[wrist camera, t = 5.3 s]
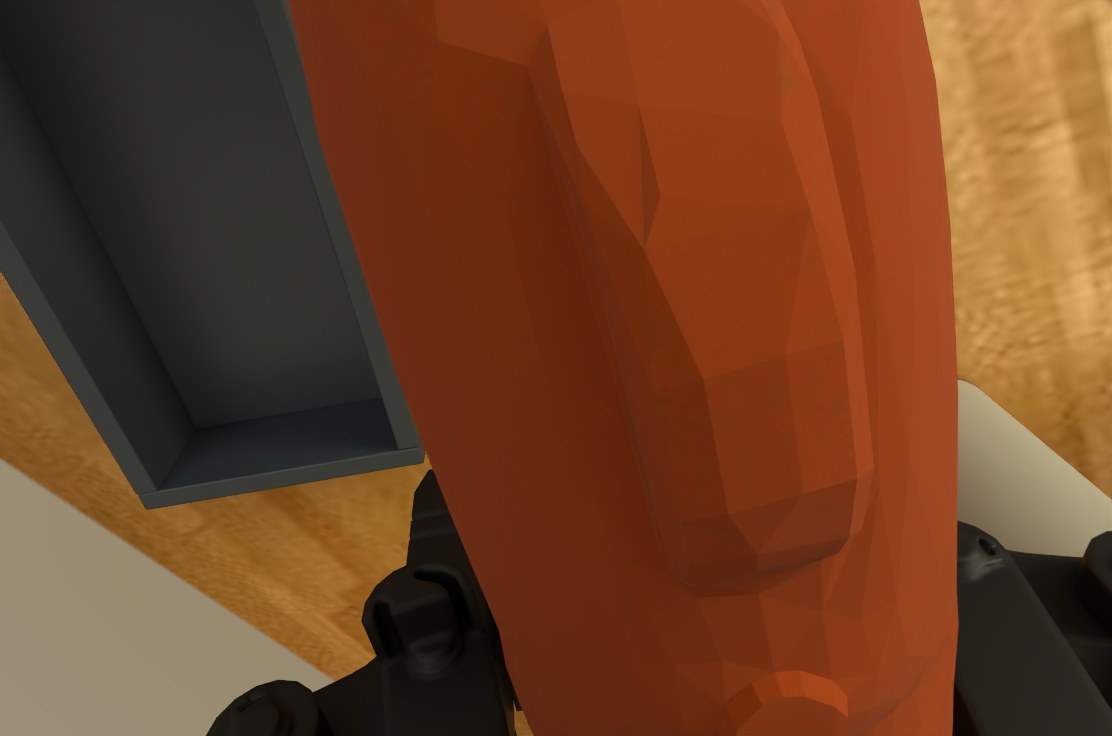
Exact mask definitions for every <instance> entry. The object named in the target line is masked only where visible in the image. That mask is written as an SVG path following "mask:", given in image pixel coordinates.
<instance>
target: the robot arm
mask: <svg viewBox="0 0 1112 736" xmlns="http://www.w3.org/2000/svg"><path fill="white" fill-rule="evenodd" d="M957 603H958V621H959V627H958V639H957V651H956V664H955V676H954V691H953V731H952V736H1112V531H1106V532H1104V533H1102V534H1100V535H1098V536H1096V537H1094V538H1092V539H1091V540H1090V542H1089V544H1088V546H1087V548H1086V550H1085V553H1084V555H1083V557H1071V556H1059V555H1047V554H1035V553H1024V552H1018V551H1011V550H1006V549H1005V548H1004V547H1003V546H1002V545H1001V544H1000V543H999V542H998V540H997V539H996V538H994V537H993V536H991V535H989V534H988V533H986V532H984V531H983V530H981V529H979V528H978V527H976V526H974V525H971V524H967V523H964V522H961V521H958V520H957ZM362 624H363V626H364V628H365V630H366V633H367V635H368V637H369V639H370V642H371V644H372V646H373V649H374V651H375V653H376V655H377V656H376V657H375V658H374V659H373V660H372V661H371V662H369V663H368V664H367V665H366V666H364V667H362V668H361V669H359V670H357V671H355V672H354V673H352V674H350V675H348V676H346V677H344V678H342V679H340V680H338V681H336V682H334V683H332V684H330V685H328V686H326V687H323V688H321V689H319V690H317V691H315V692H313V693H312V691H311V690H310V689H308V688H307V687H305V686H304V685H302V684H301V683H299V682H297V681H286V680H276V681H272V682H269V683H265V684H262V685H258V686H256V687H254V688H253V689H251V690H249V691H248V692H246V693H244V694H243V695H241V696H239V697H238V698H236V699H235V700H234V701H233V702H232V703H231V704H230V705H229V706H228V707H227V708H226V709H225V710H224V711H223V712H222V713H221V714H220V715H219V716H218V717H217V718H216V720H215V721H214V723H213V725H212V727H211V728H210V730H209V731H208V733H207V735H206V736H517V734H516V731H515V724H514V705H513V700H514V703H515V707H516V710H517V711H522V708H521V705H520V703H519V700H518V697H517V695H516V692H515V689H514V687H513V684H512V681H511V679H510V676H509V673H508V671H507V668H506V664H505V659H504V654H503V648H502V643H501V638H500V633H499V629H498V627H497V625H496V622H495V620H494V618H493V615H492V613H491V610H490V608H489V606H488V603H487V601H486V598H485V596H484V594H483V591H482V589H481V587H480V584H479V582H478V579H477V577H476V575H475V572H474V570H473V567H472V565H471V563H470V560H469V558H468V555H467V553H466V551H465V548H464V546H463V544H462V541H461V539H460V536H459V534H458V532H457V529H456V527H455V524H454V522H453V519H452V517H451V514H450V512H449V509H448V507H447V504H446V501H445V499H444V496H443V494H442V491H441V489H440V486H439V483H438V481H437V478H436V476H435V473H434V471H433V469H431V470H428V472H427V474H426V475H425V477H424V478H423V480H422V481H421V483H420V485H419V486H418V488H417V489H416V491H415V492H414V501H413V510H412V521H411V528H410V541H409V546H408V554H407V563H406V566H404V567H402V568H400V569H398V570H395V571H393V572H392V573H391V574H390V575H388V576H387V577H386V578H385V579H384V580H382V581H381V582H380V583H379V584H378V585H376V587H375V588H374V590H373V591H372V593H371V594H370V596H369V598H368V599H367V601H366V602H365V605H364V610H363V615H362Z"/></svg>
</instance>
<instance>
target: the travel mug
mask: <svg viewBox="0 0 1112 736" xmlns="http://www.w3.org/2000/svg"><path fill="white" fill-rule="evenodd" d="M957 520H958V521H961V522H964V523H967V524H971V525H974V526H976V527H978V528H979V529H981V530H983V531H984V532H986V533H988V534H989V535H991V536H993V537H994V538H996V539H997V540H998V542H999V543H1000V544H1001V545H1002V546H1003V547H1004V548H1005V549H1006V550H1011V551H1018V552H1024V553H1035V554H1047V555H1059V556H1071V557H1083V555H1084V553H1085V550H1086V548H1087V546H1088V544H1089V542H1090V540H1091V539H1092V538H1094V537H1096V536H1098V535H1100V534H1102V533H1104V532H1106V531H1112V500H1111V499H1110V498H1109V497H1107V496H1106V495H1105V494H1104V493H1103V492H1102V491H1100V490H1099V489H1098V488H1097V487H1096V486H1094V485H1093V484H1092V483H1091V482H1090V481H1088V480H1087V479H1086V478H1085V477H1084V476H1082V475H1081V474H1080V473H1079V472H1078V471H1076V470H1075V469H1074V468H1073V467H1072V466H1070V465H1069V464H1068V463H1067V462H1066V461H1065V460H1063V459H1062V458H1061V457H1060V456H1059V455H1057V454H1056V453H1055V452H1054V451H1053V450H1051V449H1050V448H1049V447H1048V446H1047V445H1045V444H1044V443H1043V442H1042V441H1041V440H1039V439H1038V438H1037V437H1036V436H1035V435H1033V434H1032V433H1031V432H1030V431H1029V430H1028V429H1026V428H1025V427H1024V426H1023V425H1022V424H1020V423H1019V422H1018V421H1017V420H1016V419H1014V418H1013V417H1012V416H1011V415H1010V414H1008V413H1007V412H1006V411H1005V410H1004V409H1002V408H1001V407H1000V406H999V405H998V404H996V403H995V402H994V401H993V400H992V399H991V398H989V397H988V396H987V395H986V394H985V393H983V392H982V391H981V390H980V389H978V388H977V387H975V386H974V385H972V384H970V383H967V382H964V381H961V380H958V487H957Z"/></svg>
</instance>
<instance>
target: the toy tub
mask: <svg viewBox="0 0 1112 736" xmlns="http://www.w3.org/2000/svg"><path fill="white" fill-rule="evenodd" d="M0 270H1V272H2V274H3V275H4V277H5V279H6V280H7V282H8V284H9V285H10V287H11V288H12V290H13V292H14V293H15V295H16V297H17V298H18V300H19V302H20V303H21V305H22V307H23V308H24V310H25V312H26V313H27V315H28V316H29V318H30V320H31V321H32V323H33V325H34V326H35V328H36V330H37V331H38V333H39V335H40V336H41V338H42V340H43V341H44V343H45V344H46V346H47V348H48V349H49V351H50V353H51V354H52V356H53V358H54V359H55V361H56V363H57V364H58V366H59V368H60V369H61V371H62V372H63V374H64V376H65V377H66V379H67V381H68V382H69V384H70V386H71V387H72V389H73V391H74V392H75V394H76V396H77V397H78V399H79V400H80V402H81V404H82V405H83V407H84V409H85V410H86V412H87V414H88V415H89V417H90V419H91V420H92V422H93V424H94V425H95V427H96V428H97V430H98V432H99V433H100V435H101V437H102V438H103V440H104V442H105V443H106V445H107V447H108V448H109V450H110V452H111V453H112V455H113V457H114V458H115V460H116V461H117V463H118V465H119V466H120V468H121V470H122V471H123V473H124V475H125V476H126V478H127V480H128V481H129V483H130V485H131V486H132V488H133V489H134V491H135V493H136V494H138V496H139V498H140V500H141V501H142V503H143V505H144V506H145V508H146V509H148V510H149V509H155V508H161V507H167V506H173V505H179V504H185V503H190V502H196V501H202V500H208V499H214V498H220V497H226V496H232V495H238V494H244V493H250V492H255V491H261V490H267V489H273V488H279V487H285V486H291V485H297V484H303V483H309V482H315V481H320V480H326V479H332V478H338V477H344V476H350V475H356V474H362V473H368V472H374V471H380V470H385V469H391V468H397V467H403V466H409V465H415V464H421V463H423V462H424V456H425V447H424V445H423V442H422V440H421V437H420V435H419V432H418V429H417V427H416V424H415V422H414V419H413V417H412V414H411V411H410V409H409V406H408V404H407V401H406V399H405V396H404V393H403V391H402V388H401V386H400V383H399V381H398V378H397V375H396V372H395V369H394V366H393V363H392V360H391V357H390V354H389V351H388V348H387V345H386V342H385V339H384V336H383V333H382V330H381V327H380V324H379V321H378V318H377V315H376V312H375V309H374V306H373V303H372V300H371V296H370V293H369V290H368V287H367V284H366V281H365V278H364V275H363V272H362V269H361V266H360V263H359V260H358V257H357V254H356V251H355V248H354V245H353V242H352V239H351V236H350V233H349V230H348V227H347V224H346V221H345V217H344V214H343V211H342V208H341V205H340V202H339V199H338V196H337V193H336V190H335V187H334V184H333V181H332V178H331V175H330V172H329V169H328V166H327V163H326V160H325V157H324V154H323V151H322V148H321V145H320V141H319V137H318V133H317V128H316V123H315V119H314V114H313V110H312V105H311V100H310V96H309V91H308V87H307V82H306V77H305V73H304V68H303V64H302V59H301V54H300V50H299V45H298V41H297V36H296V31H295V27H294V22H293V18H292V13H291V8H290V3H289V0H0Z"/></svg>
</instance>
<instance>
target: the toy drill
mask: <svg viewBox="0 0 1112 736" xmlns="http://www.w3.org/2000/svg"><path fill="white" fill-rule="evenodd" d="M289 3H290V8H291V13H292V18H293V22H294V27H295V31H296V36H297V41H298V45H299V50H300V54H301V59H302V64H303V68H304V73H305V77H306V82H307V87H308V91H309V96H310V100H311V105H312V110H313V114H314V119H315V123H316V128H317V133H318V137H319V141H320V145H321V148H322V151H323V154H324V157H325V160H326V163H327V166H328V169H329V172H330V175H331V178H332V181H333V184H334V187H335V190H336V193H337V196H338V199H339V202H340V205H341V208H342V211H343V214H344V217H345V221H346V224H347V227H348V230H349V233H350V236H351V239H352V242H353V245H354V248H355V251H356V254H357V257H358V260H359V263H360V266H361V269H362V272H363V275H364V278H365V281H366V284H367V287H368V290H369V293H370V296H371V300H372V303H373V306H374V309H375V312H376V315H377V318H378V321H379V324H380V327H381V330H382V333H383V336H384V339H385V342H386V345H387V348H388V351H389V354H390V357H391V360H392V363H393V366H394V369H395V372H396V375H397V378H398V381H399V383H400V386H401V388H402V391H403V393H404V396H405V399H406V401H407V404H408V406H409V409H410V411H411V414H412V417H413V419H414V422H415V424H416V427H417V429H418V432H419V435H420V437H421V440H422V442H423V445H424V447H425V450H426V453H427V455H428V458H429V460H430V463H431V465H432V468H433V471H434V473H435V476H436V478H437V481H438V483H439V486H440V489H441V491H442V494H443V496H444V499H445V501H446V504H447V507H448V509H449V512H450V514H451V517H452V519H453V522H454V524H455V527H456V529H457V532H458V534H459V536H460V539H461V541H462V544H463V546H464V548H465V551H466V553H467V555H468V558H469V560H470V563H471V565H472V567H473V570H474V572H475V575H476V577H477V579H478V582H479V584H480V587H481V589H482V591H483V594H484V596H485V598H486V601H487V603H488V606H489V608H490V610H491V613H492V615H493V618H494V620H495V622H496V625H497V627H498V629H499V633H500V638H501V643H502V648H503V654H504V659H505V664H506V668H507V671H508V673H509V676H510V679H511V681H512V684H513V687H514V689H515V692H516V695H517V697H518V700H519V703H520V705H521V708H522V710H523V712H524V715H525V717H526V719H527V721H528V724H529V726H530V728H531V730H532V733H533V735H534V736H952V731H953V691H954V676H955V664H956V651H957V639H958V627H959V621H958V603H957V487H958V378H957V357H956V336H955V315H954V294H953V273H952V252H951V231H950V217H949V207H948V198H947V188H946V178H945V168H944V158H943V148H942V138H941V128H940V118H939V108H938V98H937V88H936V79H935V75H934V70H933V65H932V60H931V56H930V51H929V46H928V42H927V37H926V32H925V27H924V23H923V18H922V13H921V8H920V4H919V0H289Z"/></svg>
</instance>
